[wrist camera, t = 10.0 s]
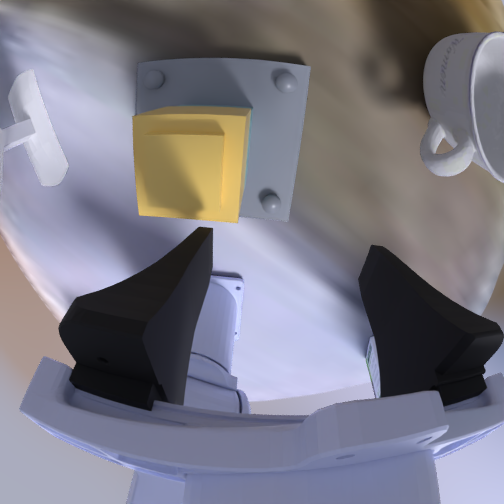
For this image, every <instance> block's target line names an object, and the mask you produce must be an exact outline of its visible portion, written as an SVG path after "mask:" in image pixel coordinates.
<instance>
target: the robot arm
mask: <svg viewBox="0 0 504 504" xmlns="http://www.w3.org/2000/svg"><path fill="white" fill-rule="evenodd" d="M212 267H213V228H207V227H198V228H197V229H196V230H195V231H194V232H192V233H191V234H190V235H189V236H188V237H187V238H186V239H185V240H184V241H182V242H181V243H180V244H179V245H178V246H177V247H175V248H174V249H173V250H172V251H170V252H169V253H168V254H167V255H165V256H164V257H163V258H161V259H160V260H159V261H157V262H156V263H154V264H153V265H151V266H149V267H148V268H146V269H144V270H143V271H141V272H139V273H137V274H135V275H133V276H131V277H129V278H128V279H126V280H124V281H121V282H119V283H117V284H115V285H112V286H110V287H107V288H105V289H102V290H99V291H96V292H93V293H89V294H86V295H83V296H79V297H76V299H75V300H74V302H73V303H72V305H71V306H70V308H69V310H68V311H67V313H66V314H65V316H64V318H63V319H62V321H61V323H60V325H59V334H60V337H61V339H62V341H63V343H64V344H65V346H66V348H67V349H68V350H69V352H70V354H71V355H72V357H73V358H74V360H75V361H76V365H75V367H74V369H72V368H70V367H69V366H67V365H66V364H64V363H61V362H58V361H56V360H53V359H51V358H48V357H45V356H44V357H43V358H42V360H41V362H40V364H39V366H38V368H37V370H36V372H35V374H34V376H33V378H32V381H31V383H30V385H29V387H28V389H27V391H26V394H25V396H24V398H23V401H22V403H21V406H20V408H19V409H20V411H21V412H22V413H23V414H24V415H25V416H27V417H28V418H29V419H31V420H32V421H34V422H35V423H36V424H37V425H39V426H40V427H41V428H43V429H44V430H46V431H47V432H48V433H50V434H51V435H53V436H55V437H56V438H59V439H60V440H62V441H64V442H66V443H69V444H71V445H73V446H75V447H77V448H79V449H81V450H84V451H86V452H88V453H91V454H93V455H95V456H98V457H100V458H103V459H105V460H108V461H110V462H113V463H116V464H119V465H122V466H124V467H127V468H130V469H133V470H134V475H133V479H132V482H131V486H130V490H129V494H128V499H127V502H126V504H440V495H439V487H438V480H437V473H436V467H435V462H434V461H435V460H437V459H439V458H442V457H444V456H447V455H449V454H451V453H453V452H456V451H458V450H460V449H462V448H464V447H466V446H468V445H470V444H472V443H474V442H476V441H478V440H480V439H482V438H484V437H485V436H487V435H488V434H490V433H491V432H493V431H494V430H496V429H497V428H499V427H500V426H502V425H503V424H504V377H503V375H502V373H498V374H495V375H492V376H490V377H488V378H486V379H485V380H484V378H483V375H482V374H484V373H485V368H484V364H485V363H486V362H487V361H488V360H489V359H490V358H491V357H492V355H493V354H494V353H495V352H496V351H497V350H498V349H499V347H500V346H501V344H502V342H503V338H504V334H503V332H502V330H501V328H500V326H499V325H498V324H497V323H496V322H493V321H491V320H489V319H486V318H484V317H482V316H479V315H477V314H475V313H473V312H471V311H469V310H467V309H466V308H464V307H462V306H460V305H459V304H457V303H455V302H454V301H452V300H451V299H449V298H448V297H446V296H445V295H443V294H442V293H440V292H439V291H438V290H436V289H435V288H433V287H432V286H431V285H430V284H428V283H427V282H426V281H425V280H423V279H422V278H421V277H420V276H419V275H417V274H416V273H415V272H414V271H413V270H412V269H410V268H409V267H408V266H407V265H406V264H405V263H403V262H402V261H401V260H400V259H399V258H398V257H396V256H395V255H394V254H393V253H391V252H390V251H389V250H387V249H386V248H385V247H383V246H376V245H371V247H370V250H369V253H368V256H367V258H366V261H365V264H364V266H363V269H362V271H361V274H360V276H359V279H358V280H359V286H360V291H361V296H362V300H363V303H364V306H365V310H366V313H367V316H368V319H369V322H370V325H371V328H372V332H373V335H374V339H375V343H376V349H377V356H378V364H379V374H380V398H374V399H365V400H354V401H349V402H343V403H336V404H333V405H330V406H327V407H324V408H321V409H318V410H317V411H315V412H314V413H312V414H311V415H260V414H251V409H250V404H249V402H248V399H247V396H246V394H245V393H244V392H243V391H242V390H239V389H237V379H238V378H237V377H234V376H232V375H231V366H232V357H233V347H234V341H236V340H238V339H239V332H240V321H241V310H242V299H243V288H244V281H243V280H242V279H240V278H232V277H222V276H212V275H211V272H212ZM237 286H239V287H240V288H238V287H237Z"/></svg>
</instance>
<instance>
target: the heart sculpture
mask: <svg viewBox="0 0 504 504" xmlns="http://www.w3.org/2000/svg"><path fill="white" fill-rule="evenodd" d="M8 101H9V104H10V107H11V110H12V114H13V117H14V120H15V123H16V124H14V125H12V126H9V127H7V128H4V129H1V128H0V196H1V188H2V172H3V153H4V152H6V151H7V150H9V149H12V148H14V147H16V146H18V145H20V144H22V143H23V144H24V147H25V149H26V152H27V154H28V156H29V159H30V161H31V163H32V166H33V168H34V170H35V172H36V175H37V177H38V179H39V181H40V183H41V185H42V186H56V185H59V184H60V183H61V181H62V180H63V178H64V176H65V174H66V172H67V170H68V167H69V164H68V162H67V159H66V157H65V155H64V153H63V150H62V148H61V146H60V143H59V141H58V139H57V136H56V134H55V131H54V129H53V126H52V124H51V121H50V119H49V116H48V113H47V111H46V108H45V105H44V102H43V99H42V96H41V93H40V90H39V87H38V84H37V81H36V77H35V74H34V70H33V69H31V70H27V71H25V72H23V73H21V74H20V75H18V76H17V78H16V79H15V81H14V83H13V85H12V87H11V89H10V92H9V95H8Z"/></svg>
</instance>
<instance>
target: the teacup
mask: <svg viewBox="0 0 504 504" xmlns="http://www.w3.org/2000/svg"><path fill="white" fill-rule="evenodd" d="M423 89H424V96H425V101H426V105H427V108H428V111H429V114H430V116H431V118H430V120H429V122H428V129H427V130H426V132H425V134H424V136H423V138H422V141H421V144H420V155H421V158H422V160H423V162H424V164H425V165H426V167H427V168H428V169H429V170H430V171H431V172H432V173H434V174H436V175H439V176H452V175H456V174H458V173H460V172H462V171H464V170H465V169H466V168H467V167H468V165H469V164H470V163H471V160H472V161H473V162H475V163H476V164H478V165H479V166H481V167H482V168H484V169H486V170H487V171H489V172H490V173H491V174H492V176H493V177H495V178H496V179H497V180H499V181H501V182H503V183H504V32H491V33H461V34H455V35H451V36H448V37H445V38H443V39H442V40H440V41H439V42H438V43H437V44H436V45H435V46H434V47H433V48H432V50H431V51H430V53H429V55H428V57H427V60H426V63H425V67H424V74H423ZM443 138H444V139H445V140H446V141H447V142H448V143H449V144H450V145H451V146H452V147H453V148H454V149H453V150H451V151H450V152H447V153H444V154H435V152H436V149H437V147H438V145H439V143H440V141H441V140H442V139H443Z"/></svg>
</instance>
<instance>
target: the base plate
mask: <svg viewBox="0 0 504 504" xmlns="http://www.w3.org/2000/svg"><path fill="white" fill-rule="evenodd" d="M310 69H311V67H310V66H304V65H298V64H291V63H283V62H275V61H266V60H254V59H238V58H185V59H169V60H157V61H148V62H140V63H138V69H137V98H136V115H138V114H141V113H144V112H148V111H152V110H155V109H159V108H163V107H167V106H215V107H236V108H250V109H251V116H250V127H249V138H248V149H247V161H246V173H245V185H244V192H243V197H242V202H241V208H240V213H239V217H248V218H258V219H268V220H278V221H287V222H288V219H289V213H290V207H291V201H292V195H293V189H294V183H295V177H296V170H297V164H298V157H299V151H300V144H301V137H302V130H303V123H304V116H305V108H306V101H307V93H308V85H309V77H310Z"/></svg>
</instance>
